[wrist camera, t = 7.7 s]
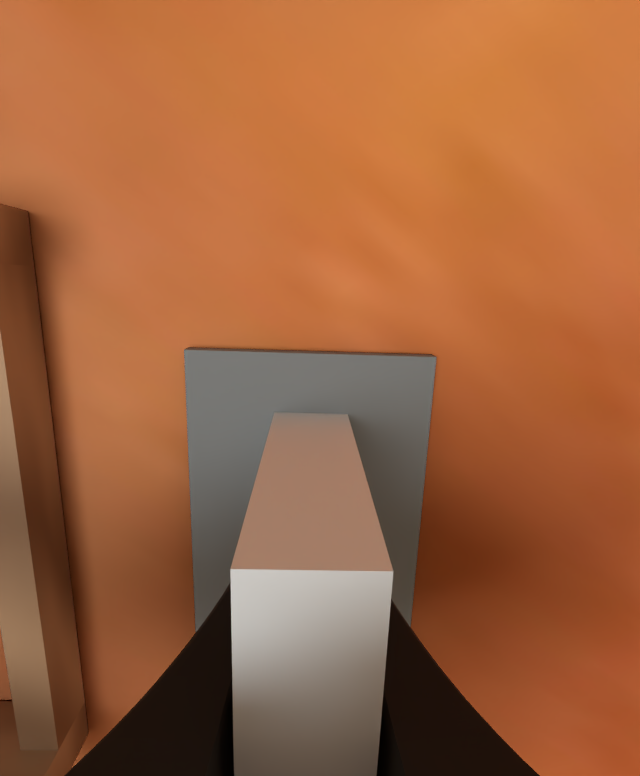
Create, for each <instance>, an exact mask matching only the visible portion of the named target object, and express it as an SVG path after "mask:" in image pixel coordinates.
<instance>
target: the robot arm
mask: <svg viewBox="0 0 640 776" xmlns="http://www.w3.org/2000/svg"><path fill="white" fill-rule="evenodd" d="M64 776H234V748H233V691H232V634H231V582H230V584H229V585H228V587H227V588H226V590H225V592H224V593H223V595H222V596H221V598H220V599H219V601H218V602H217V604H216V605H215V607H214V608H213V610H212V611H211V613H210V614H209V615H208V617H207V618H206V620H205V621H204V622H203V624H202V625H201V626H200V628H199V629H198V630H197V632H196V633H195V634H194V636H193V637H192V639H191V640H190V641H189V643H188V644H187V645H186V646H185V648H184V649H183V650H182V651H181V653H180V654H179V655H178V656H177V657H176V659H175V660H174V661H173V662H172V664H171V665H170V666H169V667H168V668H167V670H166V671H165V672H164V673H163V674H162V676H161V677H160V678H159V679H158V680H157V682H156V683H155V684H154V685H153V686H152V687H151V688H150V690H149V691H148V692H147V693H146V694H145V695H144V696H143V697H142V699H141V700H140V701H139V702H138V703H137V704H136V705H135V706H134V707H133V708H132V709H131V710H130V711H129V712H128V714H127V715H126V716H125V717H124V718H123V719H122V720H121V721H120V722H119V723H118V724H117V725H116V726H115V727H114V728H113V729H112V730H111V731H110V732H109V733H108V734H107V735H106V736H105V737H104V738H103V739H102V740H101V741H100V742H99V743H98V744H97V745H96V746H95V747H94V748H93V749H92V750H91V751H90V752H89V753H88V754H86V755H85V756H84V757H83V758H82V759H81V760H80V761H79V762H78V763H77V764H76V765H75V766H74V767H73V768H72V769H71V770H70V771H69V772H68V773H67V774H65V775H64ZM377 776H540V775H538V774H537V773H536V772H535V771H534V770H533V769H532V768H531V767H530V766H529V765H528V764H527V763H526V762H525V761H523V760H522V759H521V757H520V756H519V755H518V754H517V753H516V752H515V751H514V750H513V749H512V748H511V747H510V746H509V745H508V744H507V743H506V742H505V741H504V740H503V739H502V738H501V737H500V736H499V735H498V734H497V733H496V732H495V731H494V730H493V729H492V727H491V726H490V725H489V724H488V723H487V722H486V721H485V720H484V719H483V718H482V717H481V716H480V714H479V713H478V712H477V711H476V710H475V709H474V708H473V707H472V706H471V704H470V703H469V702H468V701H467V700H466V699H465V697H464V696H463V695H462V694H461V693H460V692H459V690H458V689H457V688H456V687H455V686H454V684H453V683H452V682H451V681H450V679H449V678H448V677H447V676H446V674H445V673H444V672H443V671H442V669H441V668H440V667H439V666H438V664H437V663H436V662H435V660H434V659H433V658H432V657H431V655H430V654H429V653H428V651H427V650H426V648H425V647H424V646H423V644H422V643H421V642H420V640H419V639H418V637H417V636H416V635H415V633H414V632H413V630H412V629H411V628H410V626H409V625H408V623H407V622H406V620H405V619H404V617H403V616H402V614H401V613H400V611H399V610H398V608H397V607H396V605H395V604H394V602H393V600H392V599H391V607H390V619H389V631H388V643H387V655H386V667H385V679H384V691H383V703H382V716H381V728H380V740H379V752H378V764H377Z"/></svg>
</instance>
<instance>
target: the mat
mask: <svg viewBox="0 0 640 776" xmlns="http://www.w3.org/2000/svg"><path fill="white" fill-rule="evenodd" d="M184 358H185V383H186V407H187V432H188V457H189V481H190V506H191V531H192V556H193V580H194V605H195V630H196V632H197V630H198V629H199V628H200V626H201V625H202V624H203V622H204V621H205V620H206V618H207V617H208V615H209V614H210V613H211V611H212V610H213V608H214V607H215V605H216V604H217V602H218V601H219V599H220V598H221V596H222V595H223V593H224V592H225V590H226V588H227V587H228V585H229V584H230V582H231V577H230V569H231V565H232V562H233V558H234V554H235V551H236V547H237V544H238V540H239V537H240V533H241V529H242V526H243V522H244V519H245V515H246V512H247V508H248V505H249V501H250V497H251V494H252V490H253V487H254V483H255V480H256V476H257V473H258V469H259V465H260V462H261V458H262V455H263V451H264V448H265V444H266V440H267V437H268V433H269V430H270V426H271V423H272V419H273V416H274V412H282V413H322V414H348V417H349V421H350V424H351V427H352V431H353V434H354V438H355V441H356V445H357V448H358V451H359V455H360V458H361V462H362V465H363V469H364V472H365V476H366V479H367V482H368V486H369V489H370V493H371V496H372V500H373V503H374V506H375V510H376V513H377V517H378V520H379V524H380V527H381V531H382V534H383V537H384V541H385V544H386V548H387V551H388V555H389V558H390V561H391V565H392V568H393V582H392V594H391V599H392V600H393V602H394V604H395V605H396V607H397V608H398V610H399V611H400V613H401V614H402V616H403V617H404V619H405V620H406V622H407V623H408V625H409V626H410V627H411V616H412V606H413V595H414V585H415V575H416V564H417V554H418V544H419V533H420V523H421V512H422V502H423V492H424V481H425V471H426V460H427V450H428V440H429V429H430V419H431V409H432V398H433V388H434V377H435V367H436V357H435V356H434V355H432V354H397V353H363V352H328V351H294V350H260V349H225V348H191V347H189V348H187V349H185V350H184Z"/></svg>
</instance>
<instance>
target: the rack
mask: <svg viewBox="0 0 640 776" xmlns="http://www.w3.org/2000/svg"><path fill="white" fill-rule="evenodd" d="M0 629H1V635H2V641H3V648H4V654H5V660H6V666H7V672H8V678H9V684H10V690H11V696H12V701H0V776H64V775H65V774H67V773H68V772H69V771H70V769H71V767H72V765H73V763H74V761H75V759H76V757H77V755H78V753H79V751H80V749H81V747H82V745H83V743H84V741H85V739H86V737H87V735H88V724H87V716H86V707H85V698H84V690H83V681H82V673H81V664H80V655H79V647H78V638H77V630H76V621H75V612H74V604H73V595H72V587H71V578H70V569H69V561H68V552H67V544H66V535H65V526H64V518H63V509H62V501H61V492H60V483H59V475H58V466H57V458H56V449H55V440H54V432H53V423H52V415H51V406H50V397H49V389H48V380H47V372H46V363H45V354H44V346H43V337H42V329H41V320H40V311H39V303H38V294H37V286H36V277H35V268H34V260H33V251H32V243H31V234H30V225H29V217H28V211H26V210H22V209H18V208H14V207H10V206H7V205H3V204H0Z"/></svg>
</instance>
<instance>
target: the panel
mask: <svg viewBox="0 0 640 776" xmlns="http://www.w3.org/2000/svg"><path fill="white" fill-rule="evenodd" d="M230 577H231V634H232V691H233V748H234V776H377V764H378V752H379V740H380V728H381V716H382V703H383V691H384V679H385V667H386V655H387V643H388V631H389V619H390V607H391V594H392V582H393V568H392V565H391V561H390V558H389V555H388V551H387V548H386V544H385V541H384V537H383V534H382V531H381V527H380V524H379V520H378V517H377V513H376V510H375V506H374V503H373V500H372V496H371V493H370V489H369V486H368V482H367V479H366V476H365V472H364V469H363V465H362V462H361V458H360V455H359V451H358V448H357V445H356V441H355V438H354V434H353V431H352V427H351V424H350V421H349V417H348V414H322V413H282V412H274V416H273V419H272V423H271V426H270V430H269V433H268V437H267V440H266V444H265V448H264V451H263V455H262V458H261V462H260V465H259V469H258V473H257V476H256V480H255V483H254V487H253V490H252V494H251V497H250V501H249V505H248V508H247V512H246V515H245V519H244V522H243V526H242V529H241V533H240V537H239V540H238V544H237V547H236V551H235V554H234V558H233V562H232V565H231V569H230Z"/></svg>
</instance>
